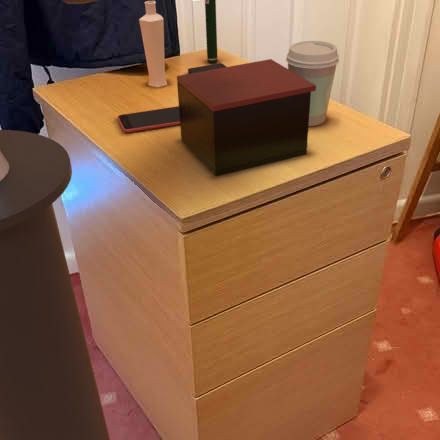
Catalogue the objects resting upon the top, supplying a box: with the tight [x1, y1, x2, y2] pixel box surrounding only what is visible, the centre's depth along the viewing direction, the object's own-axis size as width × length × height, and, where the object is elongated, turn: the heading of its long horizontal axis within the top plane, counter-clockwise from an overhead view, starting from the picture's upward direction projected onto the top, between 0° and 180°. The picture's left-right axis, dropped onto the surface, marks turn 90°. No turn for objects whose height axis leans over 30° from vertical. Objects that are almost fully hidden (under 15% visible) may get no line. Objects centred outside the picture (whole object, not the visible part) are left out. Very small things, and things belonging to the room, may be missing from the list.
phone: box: [187, 62, 228, 74], centre depth 115 cm, size 8×1×15 cm
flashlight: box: [204, 0, 218, 64], centre depth 119 cm, size 5×5×20 cm
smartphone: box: [117, 105, 180, 133], centre depth 102 cm, size 7×1×14 cm
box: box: [176, 81, 311, 177], centre depth 90 cm, size 16×14×10 cm
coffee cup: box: [285, 40, 340, 127], centre depth 97 cm, size 8×9×12 cm
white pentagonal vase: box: [138, 0, 168, 88], centre depth 111 cm, size 5×4×15 cm
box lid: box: [176, 58, 316, 112], centre depth 86 cm, size 16×14×1 cm
